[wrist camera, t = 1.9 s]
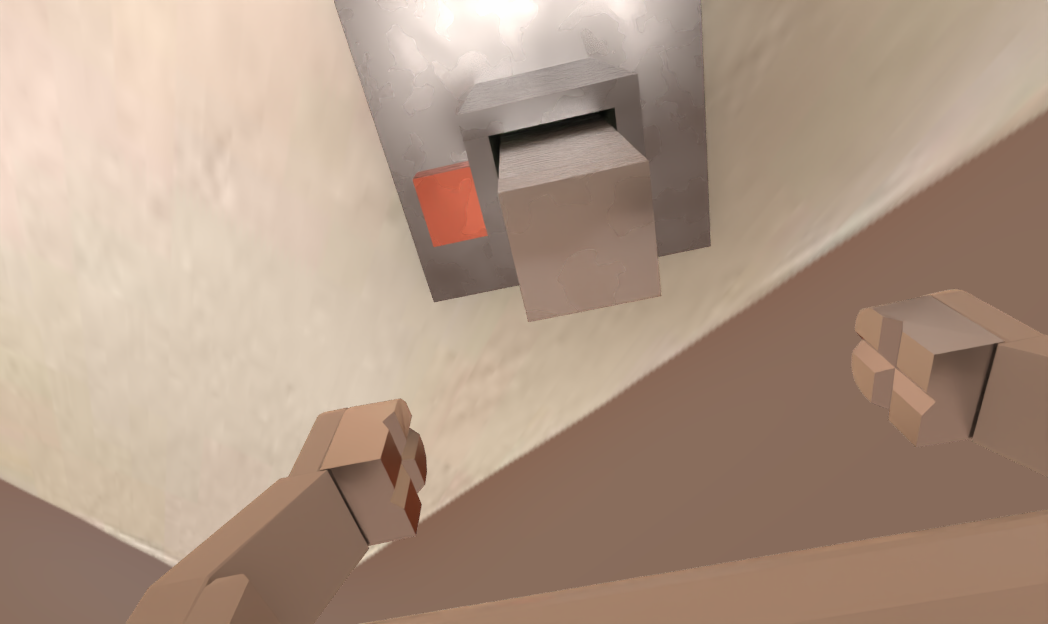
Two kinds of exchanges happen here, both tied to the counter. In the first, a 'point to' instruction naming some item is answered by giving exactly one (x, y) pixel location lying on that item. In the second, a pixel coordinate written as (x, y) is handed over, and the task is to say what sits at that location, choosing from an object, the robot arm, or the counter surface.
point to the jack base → (525, 111)
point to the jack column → (577, 216)
